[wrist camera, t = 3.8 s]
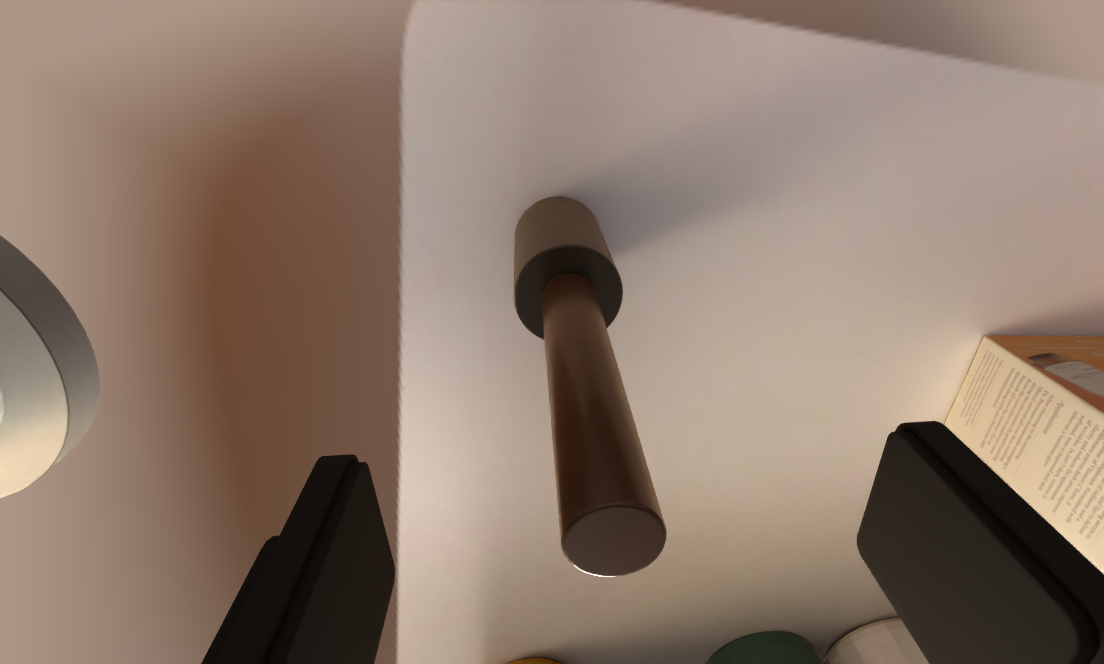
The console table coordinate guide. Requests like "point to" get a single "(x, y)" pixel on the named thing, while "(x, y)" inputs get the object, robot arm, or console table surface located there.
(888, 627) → the mug
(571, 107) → the console table surface
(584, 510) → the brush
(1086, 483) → the small box
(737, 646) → the green pen holder
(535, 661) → the bottle
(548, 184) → the console table surface
